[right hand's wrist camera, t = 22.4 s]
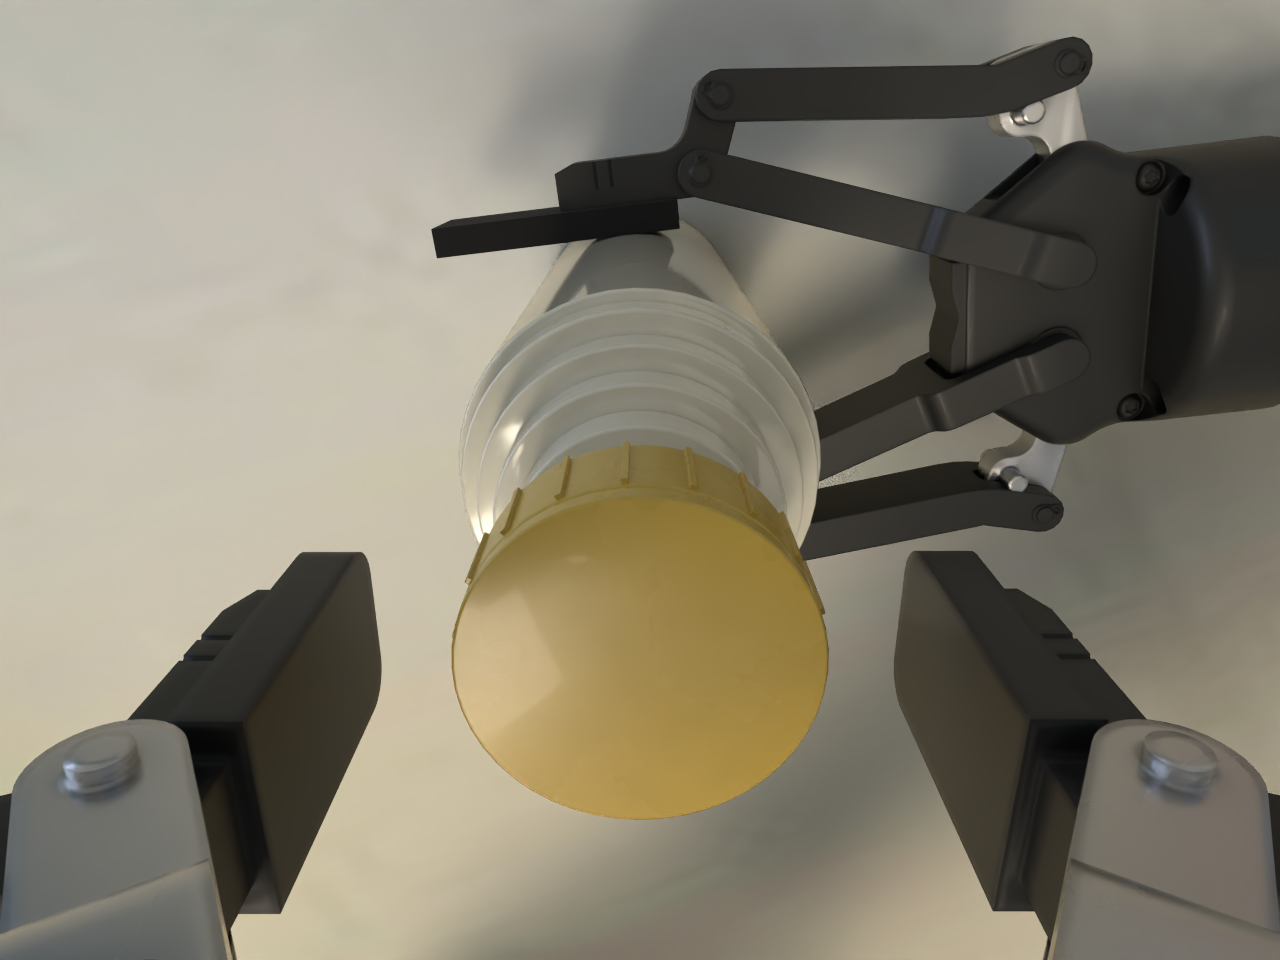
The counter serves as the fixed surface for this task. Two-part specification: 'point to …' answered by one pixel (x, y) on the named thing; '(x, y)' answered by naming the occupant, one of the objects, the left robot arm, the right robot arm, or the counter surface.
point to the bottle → (640, 377)
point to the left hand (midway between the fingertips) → (470, 367)
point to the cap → (640, 635)
